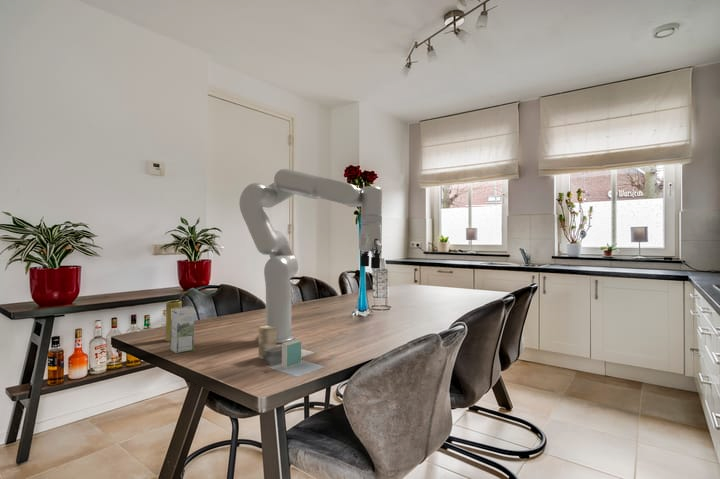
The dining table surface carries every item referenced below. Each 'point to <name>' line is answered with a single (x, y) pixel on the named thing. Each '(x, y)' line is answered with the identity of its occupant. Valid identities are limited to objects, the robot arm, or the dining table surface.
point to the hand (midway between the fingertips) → (369, 267)
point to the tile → (291, 353)
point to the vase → (168, 317)
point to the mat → (298, 368)
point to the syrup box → (182, 329)
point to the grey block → (269, 346)
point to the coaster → (306, 353)
